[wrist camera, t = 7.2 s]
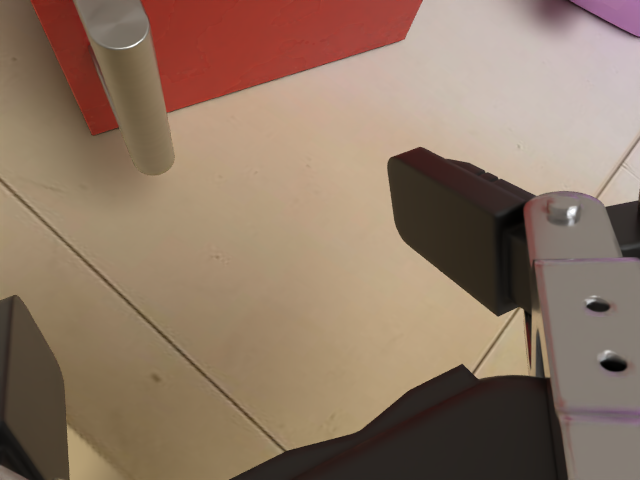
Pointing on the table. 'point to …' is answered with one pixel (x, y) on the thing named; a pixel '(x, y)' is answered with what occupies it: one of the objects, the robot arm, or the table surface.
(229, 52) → the door
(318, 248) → the table surface
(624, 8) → the teapot
